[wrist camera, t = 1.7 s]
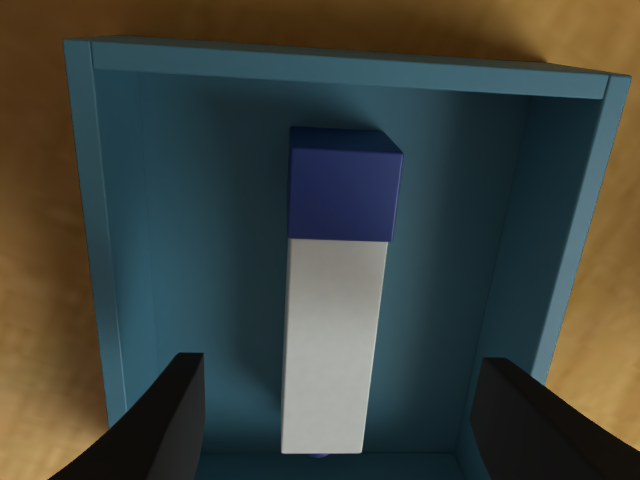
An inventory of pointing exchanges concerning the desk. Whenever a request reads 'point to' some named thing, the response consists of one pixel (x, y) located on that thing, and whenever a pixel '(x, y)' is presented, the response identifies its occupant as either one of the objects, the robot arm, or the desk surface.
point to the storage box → (272, 241)
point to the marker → (334, 282)
